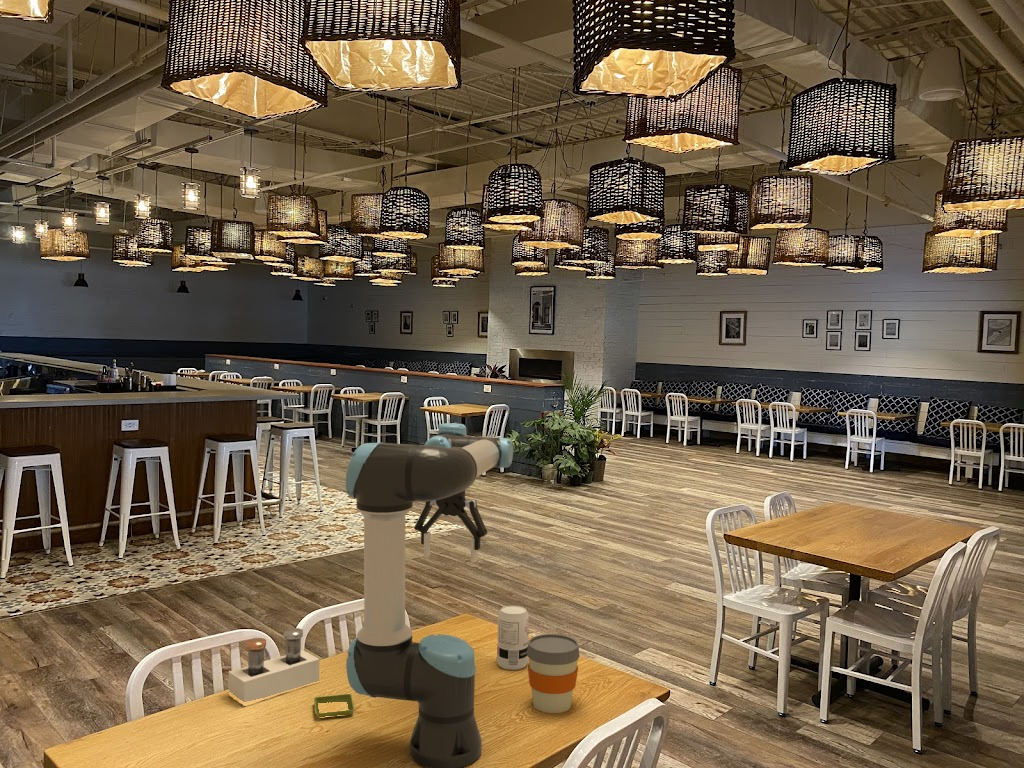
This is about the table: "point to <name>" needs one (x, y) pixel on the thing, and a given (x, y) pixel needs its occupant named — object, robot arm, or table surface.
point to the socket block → (273, 677)
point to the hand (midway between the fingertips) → (450, 559)
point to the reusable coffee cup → (552, 671)
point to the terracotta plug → (255, 656)
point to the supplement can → (512, 637)
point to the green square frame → (334, 698)
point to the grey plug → (293, 645)
